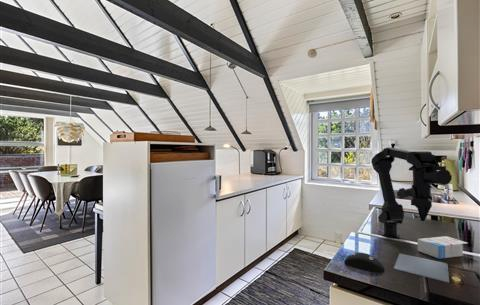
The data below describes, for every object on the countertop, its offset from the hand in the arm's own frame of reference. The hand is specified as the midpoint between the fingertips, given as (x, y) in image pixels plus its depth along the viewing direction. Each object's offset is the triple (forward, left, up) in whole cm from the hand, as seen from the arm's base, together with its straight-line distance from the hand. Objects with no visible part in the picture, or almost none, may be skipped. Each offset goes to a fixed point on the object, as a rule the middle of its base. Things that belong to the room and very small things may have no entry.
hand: (422, 220), depth 95 cm
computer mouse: (+30, -15, -12) cm, 36 cm away
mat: (+18, 0, -12) cm, 21 cm away
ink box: (+4, +1, -10) cm, 10 cm away
